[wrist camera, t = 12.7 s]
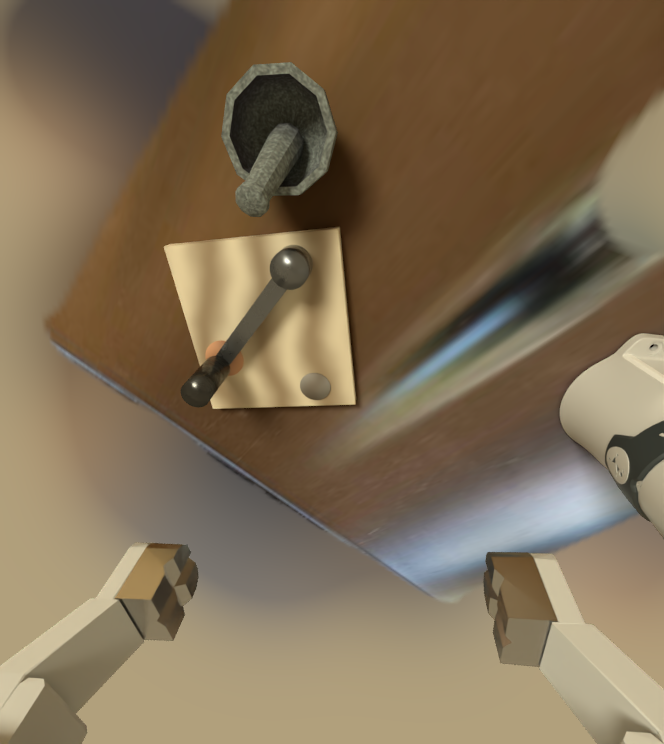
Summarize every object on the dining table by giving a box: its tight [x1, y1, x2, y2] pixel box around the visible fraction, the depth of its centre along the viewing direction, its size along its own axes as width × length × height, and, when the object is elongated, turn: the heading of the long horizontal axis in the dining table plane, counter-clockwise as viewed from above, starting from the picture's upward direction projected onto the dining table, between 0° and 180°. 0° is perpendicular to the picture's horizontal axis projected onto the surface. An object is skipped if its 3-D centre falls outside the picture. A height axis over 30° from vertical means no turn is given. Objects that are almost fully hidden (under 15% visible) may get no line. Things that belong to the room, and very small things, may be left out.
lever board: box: [164, 227, 356, 409], centre depth 47 cm, size 20×22×2 cm
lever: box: [181, 245, 313, 407], centre depth 41 cm, size 4×20×8 cm, turn 142°
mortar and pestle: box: [221, 62, 338, 217], centre depth 33 cm, size 11×9×12 cm
